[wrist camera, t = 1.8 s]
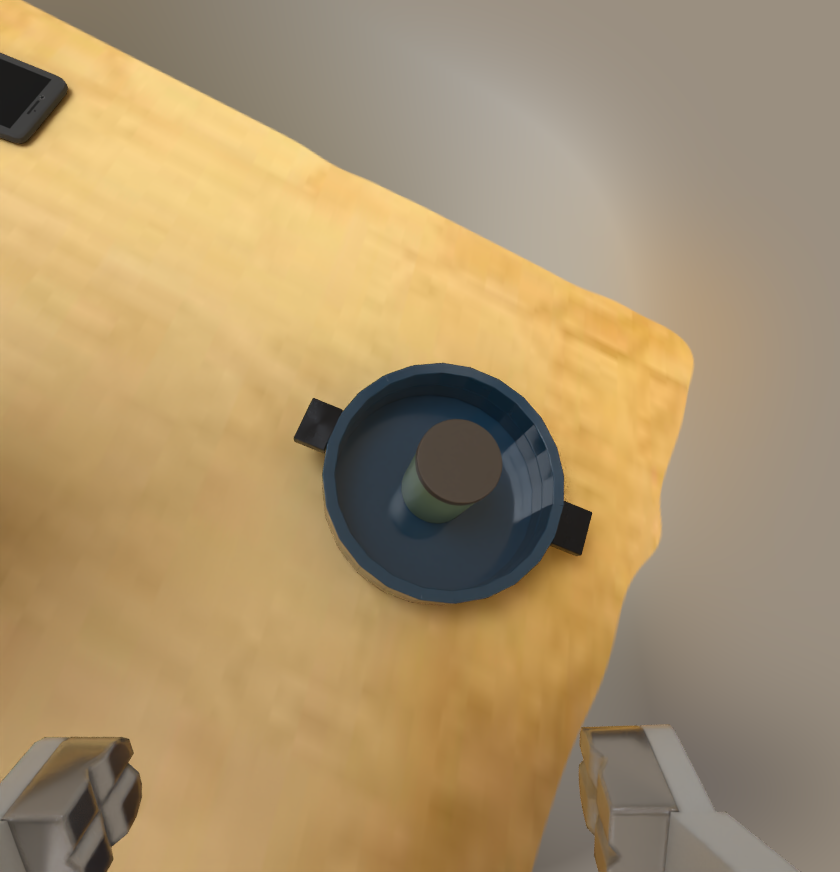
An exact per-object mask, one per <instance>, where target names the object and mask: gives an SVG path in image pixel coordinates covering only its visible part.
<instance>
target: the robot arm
mask: <svg viewBox="0 0 840 872" xmlns="http://www.w3.org/2000/svg"><path fill="white" fill-rule="evenodd" d="M580 748H581V752H582V755H583V759H584V760H583V761H582V762H581V764H579V787H580V798H581V803H582V808H583V813H584V817H585V822H586V826H587V828H588V829H589V831H591V832H592V834H593V835H595V847H594V856H595V860H596V864H597V868H598V871H599V872H801V871H799V870H798V869H797V868H796V867H794V866H793V865H792V864H791V863H789V862H788V861H787V860H786V859H784V858H783V857H782V856H781V855H779V854H778V853H777V852H776V851H774V850H773V849H772V848H771V847H769V846H768V845H767V844H766V843H764V842H763V841H762V840H761V839H759V838H758V837H757V836H756V835H754V834H753V833H752V832H751V831H749V830H748V829H747V828H746V827H744V826H743V825H742V824H740V823H739V822H738V821H737V820H735V819H734V818H733V817H732V816H731V815H729V814H728V813H727V812H716V810H715V808H714V806H713V804H712V802H711V800H710V799H709V796H708V794H707V792H706V790H705V789H704V787H703V785H702V783H701V781H700V779H699V777H698V775H697V773H696V771H695V769H694V767H693V765H692V763H691V761H690V759H689V757H688V755H687V753H686V751H685V749H684V747H683V746H682V743H681V742H680V740H679V738H678V736H677V734H676V732H675V730H674V729H673V728H672V727H671V726H670V725H640V726H608V727H582V728H581V732H580ZM133 754H134V752H133V749H132V746H131V743H130V740H129V739H127V738H123V737H44V738H42V739H41V740H39V741H37V742H35V743H34V744H33V745H32V746H31V748H30V749H29V750H28V751H27V752H26V753H25V755H24V756H23V757H22V758H21V759H20V760H19V762H18V763H17V764H16V765H15V766H14V767H13V769H12V770H11V771H10V772H9V773H8V775H7V776H6V777H5V778H4V779H3V780H2V782H1V783H0V872H107V870H108V868H109V867H110V865H111V863H112V861H113V853H112V846H113V845H114V844H115V843H117V842H118V841H119V840H120V839H121V838H123V837H124V836H125V835H126V834H128V832H129V830H130V828H131V826H132V824H133V822H134V820H135V818H136V817H137V813H138V809H139V805H140V802H141V798H142V783H141V779H140V775H139V772H138V771H137V770H135V769H134V768H133V767H132V766H131V765H130V764H129V763H128V762H129V761H130V759H131V757H132V755H133Z"/></svg>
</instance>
